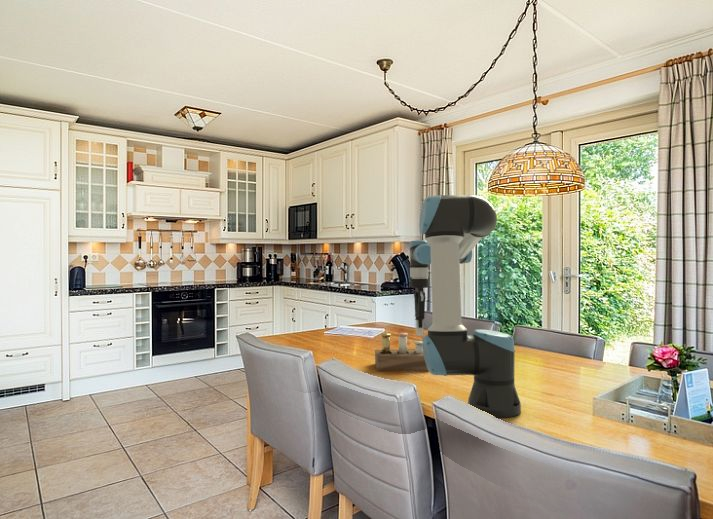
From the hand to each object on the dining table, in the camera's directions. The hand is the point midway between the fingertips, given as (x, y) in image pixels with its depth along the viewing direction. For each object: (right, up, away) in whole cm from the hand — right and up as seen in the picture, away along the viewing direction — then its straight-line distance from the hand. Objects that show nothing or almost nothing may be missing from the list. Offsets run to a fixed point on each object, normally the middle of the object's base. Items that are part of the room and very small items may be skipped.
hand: (419, 335), depth 187 cm
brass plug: (-14, -8, 0) cm, 16 cm away
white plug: (-7, -8, 0) cm, 11 cm away
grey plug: (0, -12, +1) cm, 12 cm away
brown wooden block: (-7, -13, 0) cm, 15 cm away
